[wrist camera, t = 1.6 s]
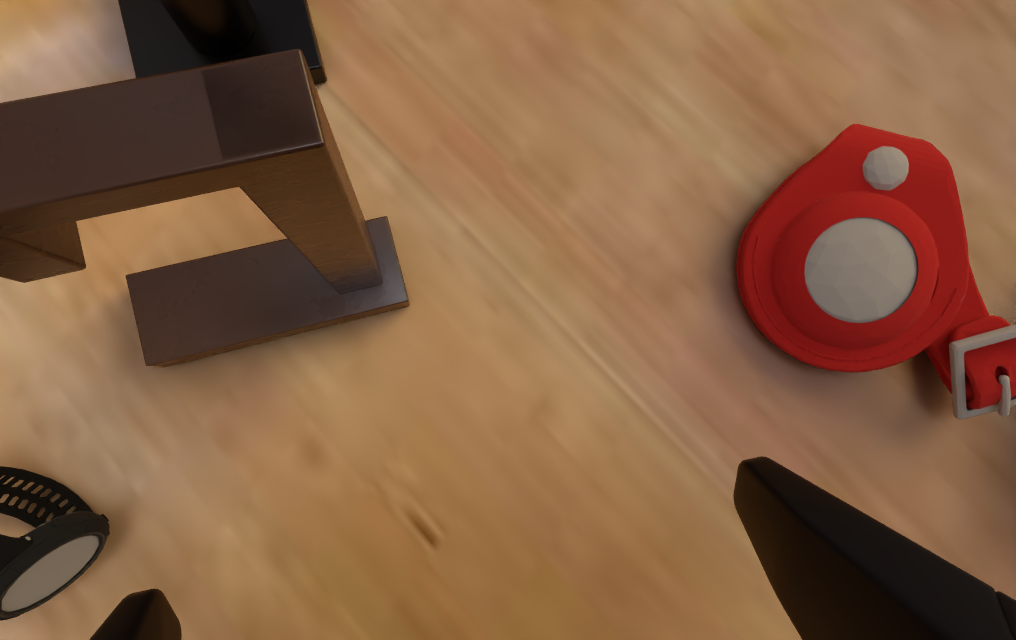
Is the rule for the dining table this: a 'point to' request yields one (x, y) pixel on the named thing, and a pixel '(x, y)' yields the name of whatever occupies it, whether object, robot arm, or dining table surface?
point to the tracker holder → (876, 270)
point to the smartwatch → (44, 543)
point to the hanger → (194, 171)
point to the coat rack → (216, 33)
